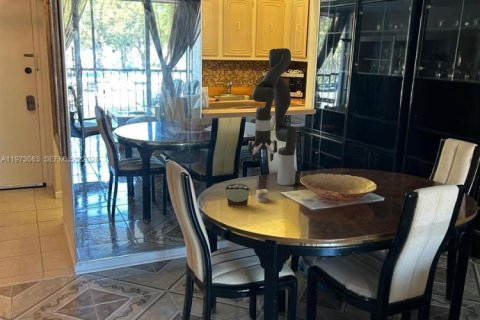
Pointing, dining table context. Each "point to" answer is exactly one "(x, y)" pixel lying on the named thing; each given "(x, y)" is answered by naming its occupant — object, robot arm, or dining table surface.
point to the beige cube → (262, 195)
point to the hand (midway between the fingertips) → (262, 161)
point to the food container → (237, 194)
